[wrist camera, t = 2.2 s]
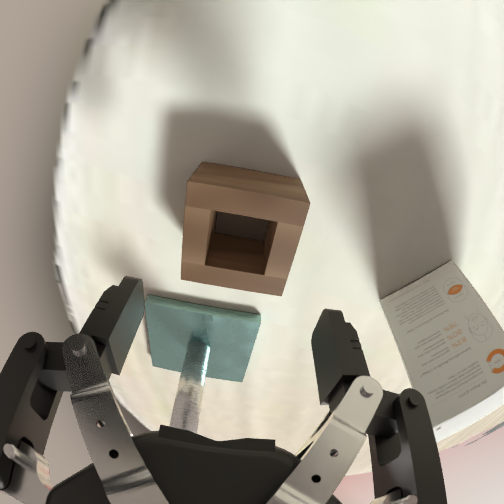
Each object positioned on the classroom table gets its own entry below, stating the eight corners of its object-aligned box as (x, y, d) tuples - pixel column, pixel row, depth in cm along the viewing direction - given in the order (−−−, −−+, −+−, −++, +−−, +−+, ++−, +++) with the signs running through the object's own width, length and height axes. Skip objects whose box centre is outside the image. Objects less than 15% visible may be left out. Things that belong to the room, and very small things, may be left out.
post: (148, 294, 24) (104, 402, 14) (260, 314, 24) (258, 433, 15) (154, 359, 29) (130, 445, 20) (242, 374, 30) (236, 465, 20)
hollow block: (202, 161, 17) (187, 181, 14) (300, 179, 18) (310, 203, 14) (193, 246, 21) (180, 279, 17) (278, 260, 21) (281, 296, 18)
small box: (392, 335, 26) (428, 447, 15) (377, 298, 23) (425, 432, 12) (457, 300, 23) (511, 400, 12) (452, 257, 20) (528, 370, 9)
